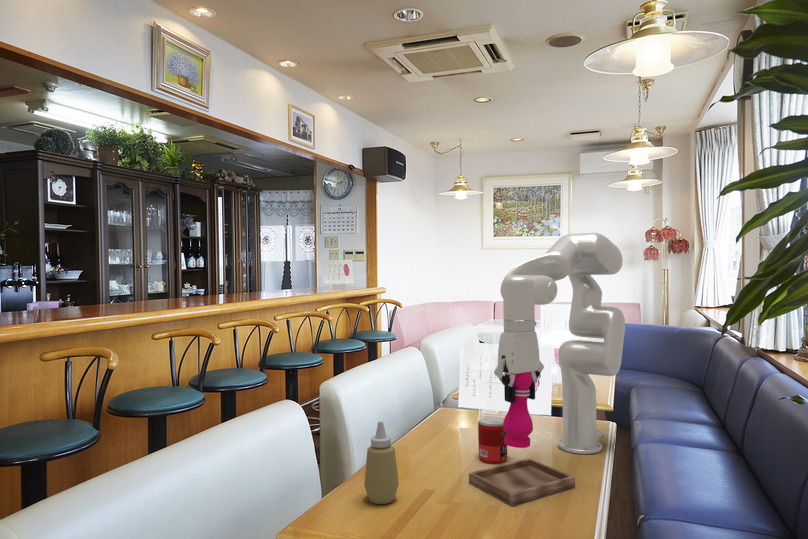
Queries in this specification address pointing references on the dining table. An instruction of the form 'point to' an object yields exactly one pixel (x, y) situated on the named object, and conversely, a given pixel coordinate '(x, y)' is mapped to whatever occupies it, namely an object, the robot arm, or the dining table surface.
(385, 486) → the squeeze bottle
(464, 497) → the dining table surface
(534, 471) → the walnut tray
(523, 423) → the pepper mill
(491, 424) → the canned food
